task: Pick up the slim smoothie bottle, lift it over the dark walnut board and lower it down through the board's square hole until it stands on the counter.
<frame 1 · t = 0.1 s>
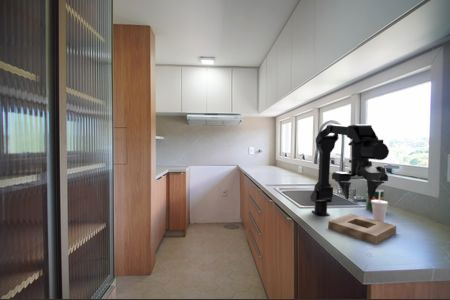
hand: (358, 199, 86), 15 cm above the countertop, fingers open, 9 cm apart
hole board: (361, 230, 93), on the countertop
smoothie: (378, 223, 103), on the countertop
canned tomato: (374, 210, 121), on the countertop
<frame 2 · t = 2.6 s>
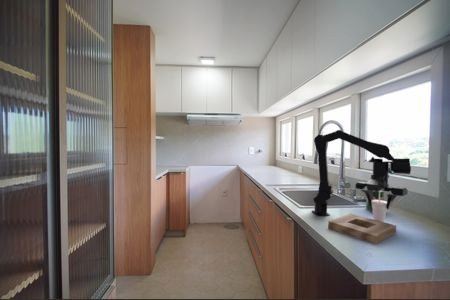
hand: (379, 207, 102), 7 cm above the countertop, fingers closed on smoothie, 6 cm apart
smoothie: (378, 223, 103), on the countertop, touching gripper
everything else where it was.
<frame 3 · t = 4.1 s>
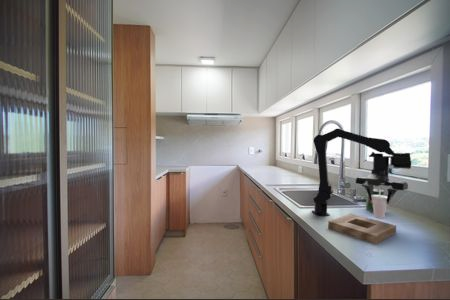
hand: (379, 202, 102), 9 cm above the countertop, fingers closed on smoothie, 6 cm apart
smoothie: (379, 218, 102), point 2 cm above the countertop, touching gripper
everything else where it was.
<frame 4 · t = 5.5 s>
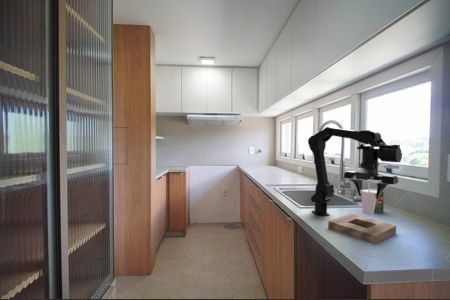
hand: (368, 197, 96), 13 cm above the countertop, fingers closed on smoothie, 6 cm apart
smoothie: (368, 214, 96), point 6 cm above the countertop, touching gripper
everything else where it was.
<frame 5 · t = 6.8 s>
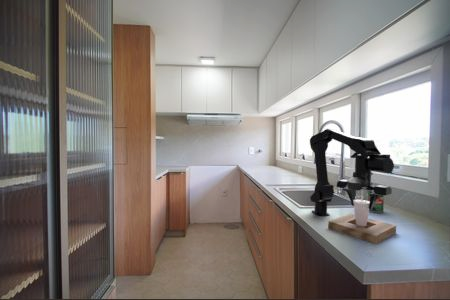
hand: (361, 207, 93), 9 cm above the countertop, fingers closed on smoothie, 6 cm apart
smoothie: (361, 225, 93), point 2 cm above the countertop, touching gripper
everything else where it was.
when the fingers open (8 cm above the countertop, at t = 8.0 s): smoothie stays where it is, resting in hole board.
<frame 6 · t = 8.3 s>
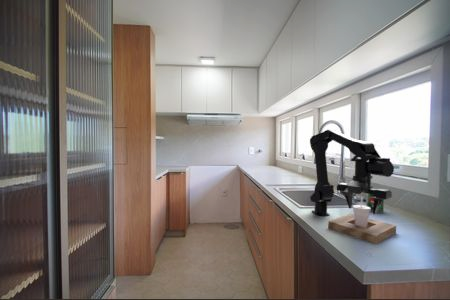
hand: (361, 211, 93), 8 cm above the countertop, fingers open, 9 cm apart
smoothie: (361, 230, 94), resting in hole board
everything else where it was.
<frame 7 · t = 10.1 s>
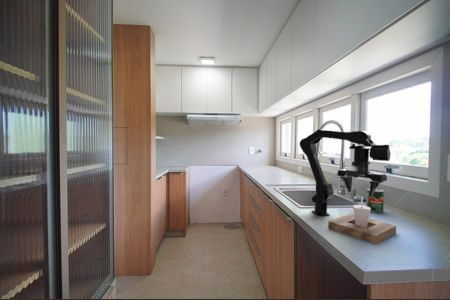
hand: (359, 194, 102), 13 cm above the countertop, fingers open, 9 cm apart
nothing on the countertop moved.
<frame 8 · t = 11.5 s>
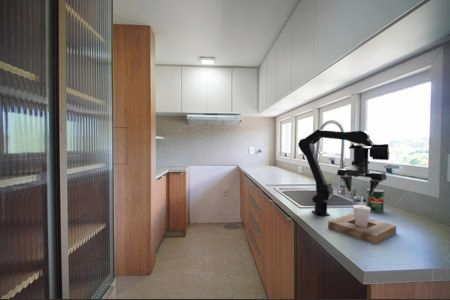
hand: (359, 193, 103), 13 cm above the countertop, fingers open, 9 cm apart
nothing on the countertop moved.
at the end: smoothie 0.1 cm off-centre on the hole board, point 0.0 cm above the hole board's base; smoothie tilted 0°; the gripper is holding nothing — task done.
